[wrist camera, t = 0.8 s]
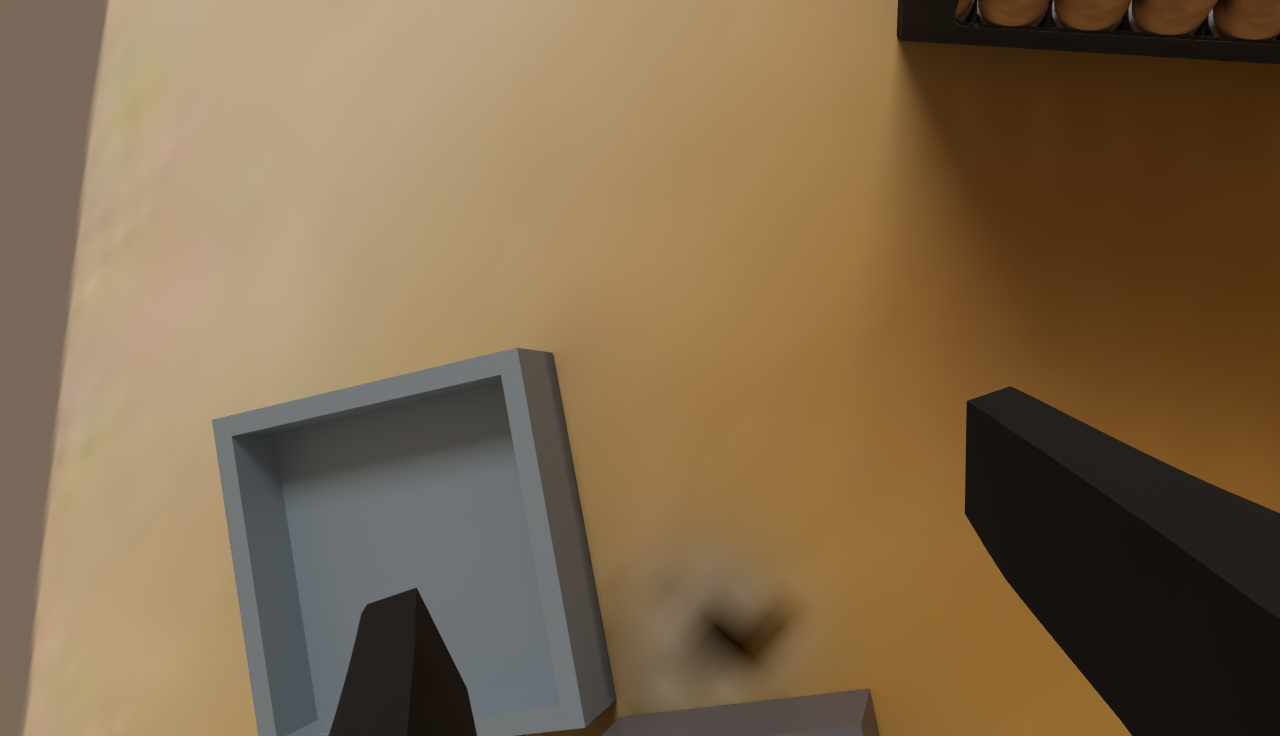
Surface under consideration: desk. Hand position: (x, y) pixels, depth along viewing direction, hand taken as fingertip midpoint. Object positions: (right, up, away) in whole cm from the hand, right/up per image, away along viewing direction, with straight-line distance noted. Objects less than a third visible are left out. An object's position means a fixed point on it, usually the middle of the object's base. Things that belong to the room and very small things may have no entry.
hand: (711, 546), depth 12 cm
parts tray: (-7, -3, +17) cm, 19 cm away
